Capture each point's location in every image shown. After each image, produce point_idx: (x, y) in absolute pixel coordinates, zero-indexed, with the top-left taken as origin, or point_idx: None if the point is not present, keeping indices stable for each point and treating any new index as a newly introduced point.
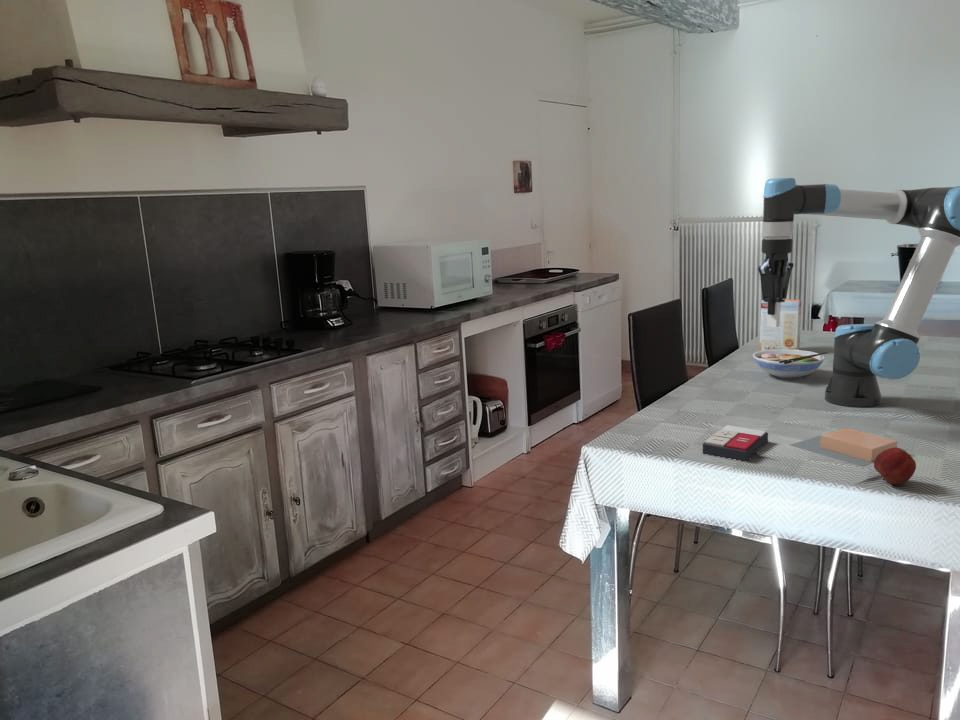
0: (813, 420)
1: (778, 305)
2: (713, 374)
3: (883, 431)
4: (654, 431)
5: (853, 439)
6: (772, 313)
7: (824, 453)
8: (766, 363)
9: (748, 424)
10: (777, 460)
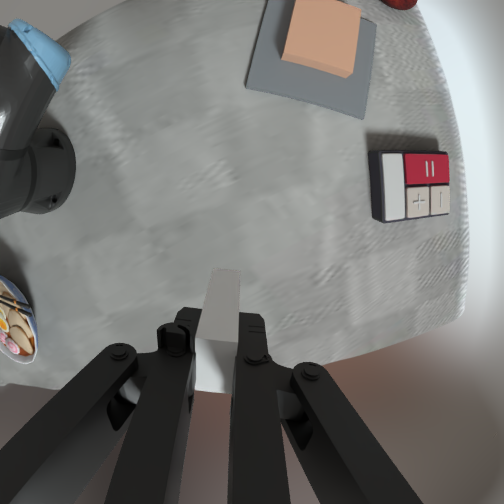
0: (185, 150)
1: (221, 329)
2: None
3: (177, 45)
4: (392, 308)
5: (337, 31)
6: (260, 318)
7: (365, 68)
8: (36, 334)
9: (284, 225)
10: (414, 118)
